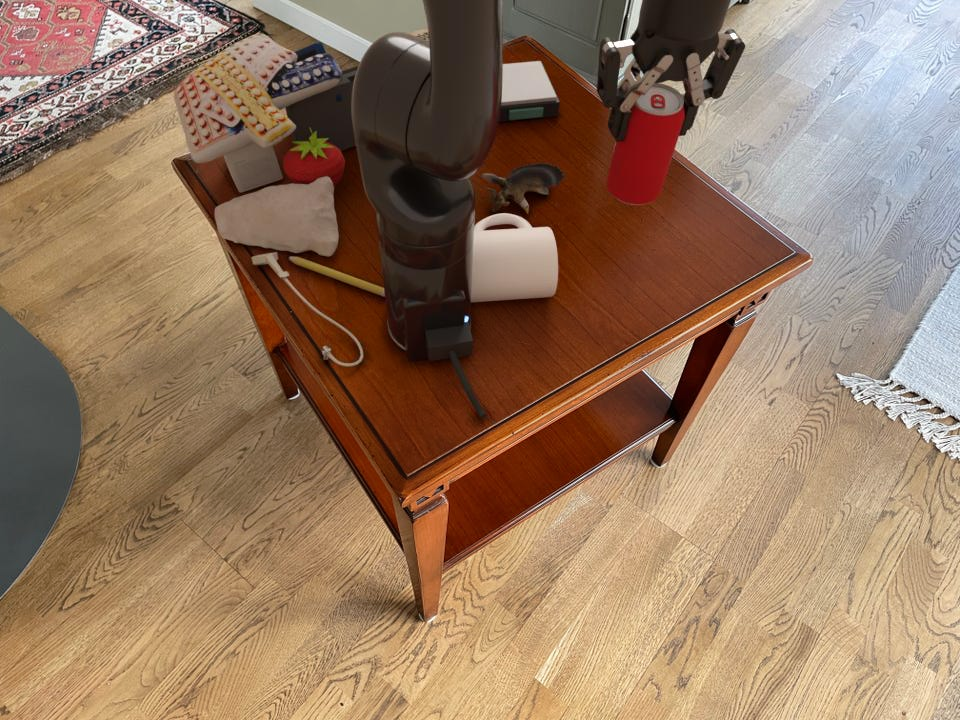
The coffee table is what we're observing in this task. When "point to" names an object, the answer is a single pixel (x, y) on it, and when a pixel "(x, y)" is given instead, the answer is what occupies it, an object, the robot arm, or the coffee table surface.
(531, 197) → the coffee table surface
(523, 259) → the mug
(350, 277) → the pencil
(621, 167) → the beverage can
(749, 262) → the coffee table surface
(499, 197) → the eagle figurine
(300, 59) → the blue flat block
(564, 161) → the coffee table surface
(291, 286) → the white cable
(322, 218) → the decorative stone
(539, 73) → the scale
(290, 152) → the red tomato pincushion
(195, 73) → the pill blister packs
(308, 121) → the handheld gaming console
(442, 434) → the coffee table surface
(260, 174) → the product carton
